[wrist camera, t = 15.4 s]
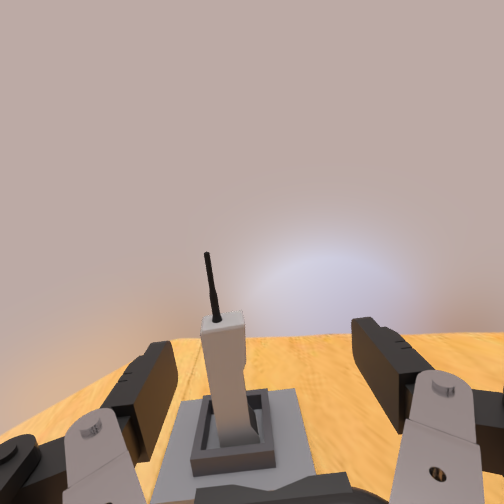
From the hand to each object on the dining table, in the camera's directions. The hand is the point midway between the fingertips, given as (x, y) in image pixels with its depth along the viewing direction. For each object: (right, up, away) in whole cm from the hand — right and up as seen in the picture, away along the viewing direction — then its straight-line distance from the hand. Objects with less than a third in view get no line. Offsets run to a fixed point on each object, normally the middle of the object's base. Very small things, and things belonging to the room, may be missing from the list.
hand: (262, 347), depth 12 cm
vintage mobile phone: (-2, -20, +23) cm, 31 cm away
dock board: (-2, -21, +23) cm, 32 cm away
